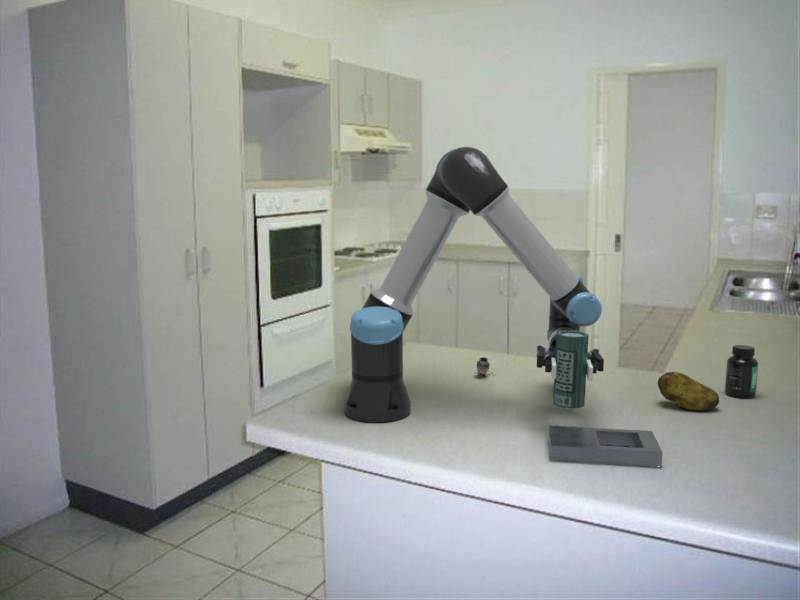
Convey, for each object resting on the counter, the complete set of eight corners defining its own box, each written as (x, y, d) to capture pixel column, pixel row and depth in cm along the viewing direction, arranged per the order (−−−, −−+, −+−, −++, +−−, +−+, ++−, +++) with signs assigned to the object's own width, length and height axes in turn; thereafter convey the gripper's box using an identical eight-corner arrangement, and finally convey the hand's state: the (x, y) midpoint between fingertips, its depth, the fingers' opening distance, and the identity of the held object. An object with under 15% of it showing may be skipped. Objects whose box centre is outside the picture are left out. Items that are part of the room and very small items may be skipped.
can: (589, 403, 146) (593, 333, 144) (574, 410, 142) (578, 338, 139) (563, 397, 150) (567, 329, 148) (548, 403, 146) (551, 333, 143)
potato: (710, 418, 155) (713, 383, 153) (652, 406, 163) (654, 373, 161) (721, 408, 161) (723, 374, 160) (664, 397, 169) (666, 365, 168)
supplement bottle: (761, 399, 167) (765, 350, 165) (732, 399, 168) (736, 350, 165) (747, 390, 174) (751, 343, 172) (719, 390, 174) (723, 343, 172)
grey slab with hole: (550, 460, 132) (550, 445, 131) (548, 439, 143) (549, 425, 142) (661, 467, 128) (662, 452, 128) (651, 445, 139) (652, 431, 139)
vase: (493, 380, 185) (492, 358, 184) (472, 381, 186) (471, 359, 185) (494, 374, 190) (492, 353, 189) (474, 375, 191) (472, 354, 190)
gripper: (608, 364, 161) (621, 394, 139) (522, 359, 165) (522, 388, 142) (610, 332, 160) (623, 357, 138) (524, 328, 163) (524, 352, 141)
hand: (572, 373), depth 140 cm, fingers closed on can, 6 cm apart
